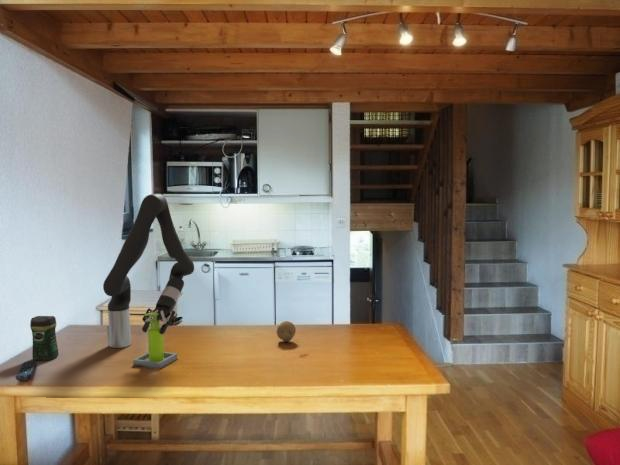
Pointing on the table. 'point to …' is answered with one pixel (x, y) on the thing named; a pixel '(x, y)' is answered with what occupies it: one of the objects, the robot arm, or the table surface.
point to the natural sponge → (286, 331)
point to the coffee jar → (44, 338)
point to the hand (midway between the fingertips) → (152, 332)
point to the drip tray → (145, 362)
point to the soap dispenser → (155, 340)
